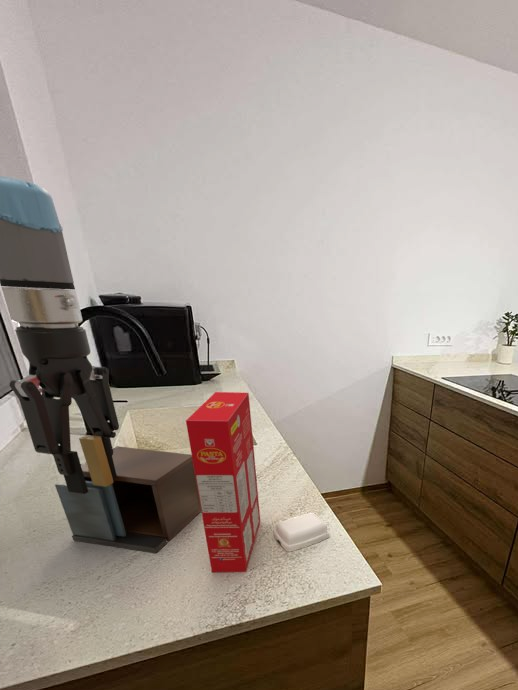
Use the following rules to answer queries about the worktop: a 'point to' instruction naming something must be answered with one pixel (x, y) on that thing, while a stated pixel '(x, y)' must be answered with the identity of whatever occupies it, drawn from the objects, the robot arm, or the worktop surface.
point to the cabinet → (136, 500)
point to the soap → (301, 531)
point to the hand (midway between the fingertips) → (93, 483)
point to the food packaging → (226, 478)
